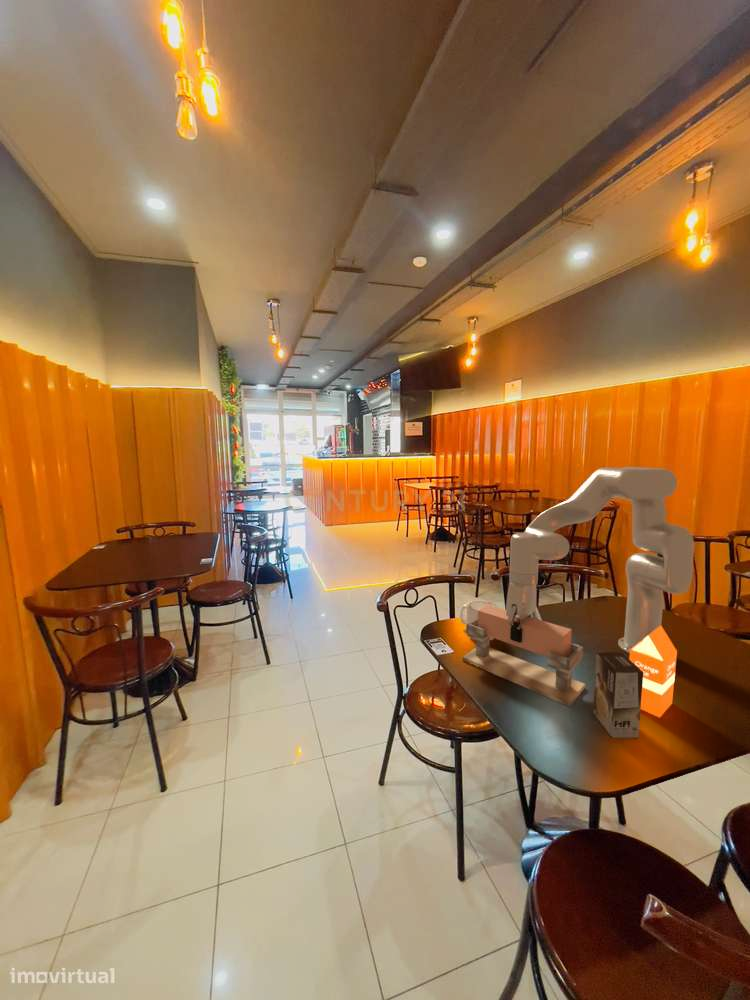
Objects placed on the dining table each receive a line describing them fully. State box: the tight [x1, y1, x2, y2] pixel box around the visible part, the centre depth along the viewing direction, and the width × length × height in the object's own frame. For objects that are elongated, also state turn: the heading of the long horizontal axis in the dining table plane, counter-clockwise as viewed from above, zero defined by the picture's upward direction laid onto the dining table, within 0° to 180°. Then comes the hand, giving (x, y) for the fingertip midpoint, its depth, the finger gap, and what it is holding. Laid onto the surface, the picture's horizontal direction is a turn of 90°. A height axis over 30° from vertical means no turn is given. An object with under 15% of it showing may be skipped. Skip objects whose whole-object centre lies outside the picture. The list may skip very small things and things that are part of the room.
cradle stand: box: [462, 618, 586, 707], centre depth 117 cm, size 32×11×12 cm, turn 45°
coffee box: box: [592, 651, 643, 739], centre depth 95 cm, size 9×6×16 cm
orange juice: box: [628, 625, 678, 718], centre depth 102 cm, size 8×9×20 cm
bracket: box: [533, 606, 543, 621], centre depth 145 cm, size 3×21×10 cm, turn 174°
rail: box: [478, 605, 573, 658], centre depth 116 cm, size 25×6×7 cm, turn 45°
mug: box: [459, 599, 497, 641], centre depth 142 cm, size 14×10×11 cm
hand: (521, 636), depth 116 cm, fingers closed on rail, 5 cm apart
